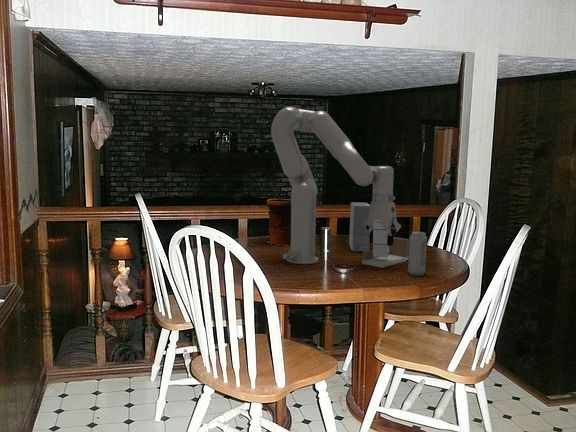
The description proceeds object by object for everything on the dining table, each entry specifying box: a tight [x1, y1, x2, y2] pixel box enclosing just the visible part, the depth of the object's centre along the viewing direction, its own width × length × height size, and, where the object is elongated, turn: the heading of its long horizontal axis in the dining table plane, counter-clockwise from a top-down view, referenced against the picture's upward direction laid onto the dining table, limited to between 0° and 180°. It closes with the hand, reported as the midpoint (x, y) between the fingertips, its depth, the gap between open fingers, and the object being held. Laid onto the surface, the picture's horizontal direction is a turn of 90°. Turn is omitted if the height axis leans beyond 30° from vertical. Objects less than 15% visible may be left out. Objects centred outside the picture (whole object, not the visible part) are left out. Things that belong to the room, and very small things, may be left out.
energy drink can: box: [407, 231, 428, 276], centre depth 198 cm, size 6×6×15 cm
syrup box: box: [372, 219, 390, 258], centre depth 212 cm, size 6×6×14 cm
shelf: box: [361, 236, 410, 268], centre depth 217 cm, size 19×9×8 cm, turn 137°
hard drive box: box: [348, 201, 371, 252], centre depth 243 cm, size 16×8×20 cm, turn 179°
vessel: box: [266, 198, 291, 246], centre depth 253 cm, size 14×14×20 cm
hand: (381, 243), depth 212 cm, fingers closed on syrup box, 7 cm apart
